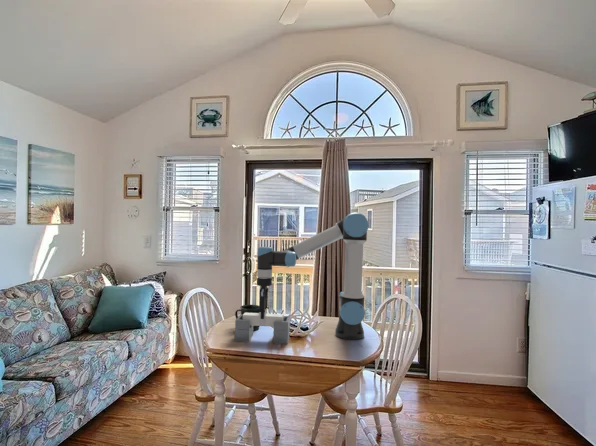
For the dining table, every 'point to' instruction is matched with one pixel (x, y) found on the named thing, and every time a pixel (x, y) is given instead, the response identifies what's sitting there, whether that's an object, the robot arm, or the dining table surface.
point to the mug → (248, 311)
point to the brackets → (246, 330)
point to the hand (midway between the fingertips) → (263, 323)
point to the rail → (269, 319)
